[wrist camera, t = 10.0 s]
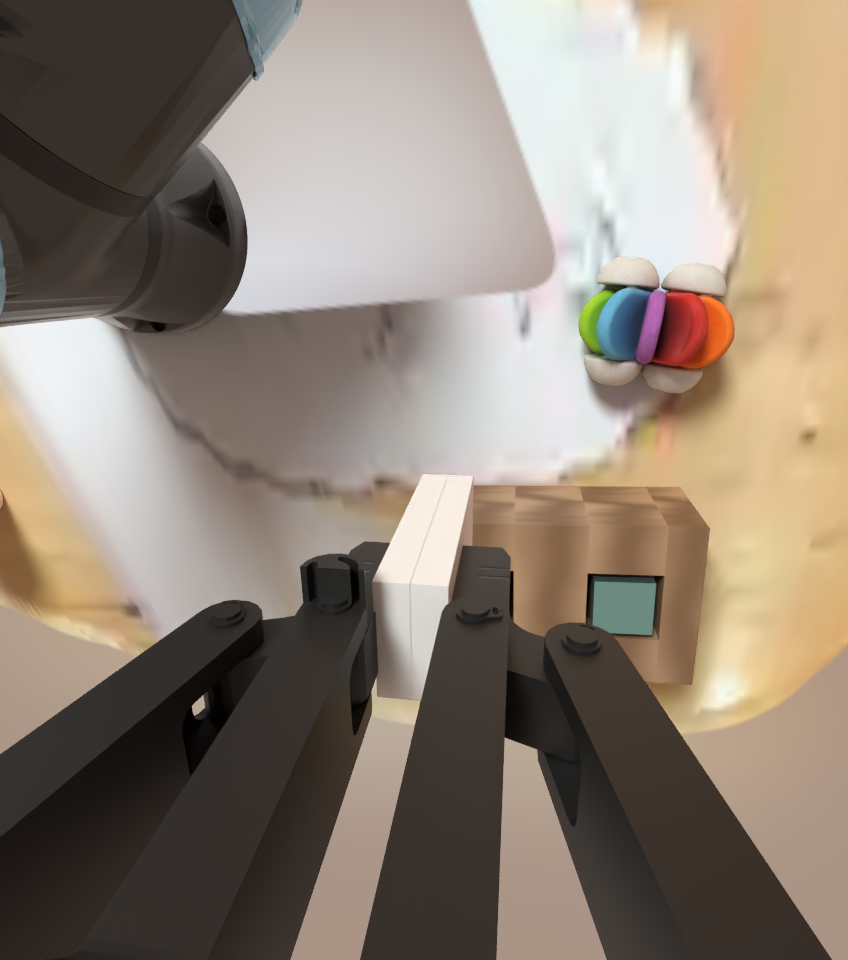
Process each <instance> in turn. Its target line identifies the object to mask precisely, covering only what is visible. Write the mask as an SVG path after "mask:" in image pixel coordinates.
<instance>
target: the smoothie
mask: <svg viewBox="0 0 848 960" xmlns="http://www.w3.org/2000/svg"><path fill="white" fill-rule="evenodd" d="M2 505H3V495H2V492H1V490H0V509H1V507H2Z"/></svg>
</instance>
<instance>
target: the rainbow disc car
mask: <svg viewBox="0 0 848 960" xmlns="http://www.w3.org/2000/svg"><path fill="white" fill-rule="evenodd" d="M597 283H598V284H604V285H611V286H622V287H627V288H625V289H621V290H620V291H618V290H613V289H606V290H603V291H602V292H600V293H599V294H597V295H596V296H594V297H593V298H592V299H591V300H590V301H589V302H588V303H587V304H586V305H585V307H584V308H583V310H582V312H581V314H580V319H579V332H580V335H581V337H582V339H583V341H584V342H585V344H586V345H587V346H588V347H589V348H590V349H591V351H593V352H595V353H598V354H587V355H585V356H584V365H585V369H586V371H587V373H588V374H589V376H590V377H591V378H592V379H593V380H594V381H595V382H597V383H600V384H605V385H611V386H622V385H625V384H627V383H629V382H630V381H632V380H633V379H634V378H635V377H636V376H637V375H638V374H639V372H640V371H641V369H642V372H643V376H644V379H645V380H646V382H647V383H648V385H649V386H650V387H651V388H653V389H655V390H659V391H663V392H668V393H683V392H685V391H687V390H689V389H691V388H692V387H693V386H694V385H696V384H697V382H698V381H699V380H700V378H701V377H702V375H703V371H702V370H701V369H698V368H701V367H704V366H707V365H709V364H711V363H713V362H715V361H716V360H718V359H719V358H720V357H721V356H722V355H723V354H724V353H725V352H726V351H727V350H728V348H729V347H730V345H731V343H732V341H733V339H734V323H733V319H732V316H731V314H730V312H729V311H728V309H727V308H726V307H725V306H724V305H723V304H722V303H721V302H719V301H718V300H716V299H714V298H711V297H724V296H725V294H726V283H725V279H724V277H723V275H722V273H721V272H720V271H719V269H718V268H716V267H714V266H711V265H706V264H697V263H684V264H681V265H679V266H677V267H676V268H674V269H673V270H672V271H671V272H670V273H669V274H668V275H667V277H666V278H665V279H664V281H663V283H662V284H661V287H662V289H665V290H669V291H670V292H669V293H666V294H665V293H664V292H662V291H654V290H655V289H657V288H659V276H658V273H657V270H656V268H655V267H654V265H653V264H652V263H651V262H650V261H649V260H647V259H643V258H636V257H617V258H615V259H613V260H612V261H610V262H609V263H608V264H607V265H606V266H605V267H604V268H603V269H602V271H601V272H600V274H599V276H598V279H597ZM653 291H654V292H653Z"/></svg>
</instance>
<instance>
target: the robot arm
mask: <svg viewBox="0 0 848 960" xmlns="http://www.w3.org/2000/svg"><path fill="white" fill-rule="evenodd" d="M301 5H302V0H0V327H5V326H14V325H23V324H33V323H43V322H53V321H63V320H73V319H83V318H91V317H94V318H96V319H99V320H102V321H104V322H107V323H109V324H112V325H115V326H117V327H120V328H123V329H125V330H128V331H132V332H136V333H141V334H150V335H162V334H170V333H177V332H183V331H187V330H191V329H194V328H197V327H199V326H201V325H203V324H205V323H207V322H208V321H210V320H211V319H213V318H214V317H215V316H217V315H218V314H219V313H220V312H221V311H222V310H223V309H224V308H225V307H226V305H227V304H228V303H229V301H230V300H231V298H232V297H233V295H234V294H235V292H236V290H237V288H238V286H239V283H240V281H241V278H242V275H243V272H244V268H245V263H246V257H247V228H246V220H245V215H244V211H243V207H242V203H241V201H240V198H239V195H238V192H237V190H236V188H235V186H234V184H233V182H232V180H231V178H230V176H229V175H228V173H227V171H226V170H225V168H224V167H223V165H222V164H221V163H220V161H219V160H218V159H217V158H216V157H215V155H214V154H212V152H211V151H210V150H209V149H208V148H207V147H206V146H204V144H202V143H201V141H202V140H203V139H204V137H205V136H206V135H207V134H208V132H209V131H210V130H211V129H212V127H213V126H214V125H215V124H216V123H217V121H218V120H219V119H220V118H221V116H222V115H223V114H224V113H225V112H226V110H227V109H228V108H229V106H230V105H231V104H232V103H233V102H234V100H235V99H236V98H237V96H238V95H239V94H240V93H241V92H242V91H243V89H244V88H245V87H246V86H247V84H248V83H249V82H250V81H251V80H252V78H253V79H254V80H255V81H257V80H258V79H259V78H260V77H261V75H262V73H263V72H264V63H265V62H266V61H267V59H268V58H269V56H270V55H271V54H272V52H273V51H274V50H275V48H276V47H277V46H278V44H279V43H280V42H281V40H282V39H283V37H284V36H285V35H286V33H287V32H288V31H289V29H290V28H291V27H292V25H293V24H294V22H295V21H296V19H297V17H298V14H299V12H300V9H301ZM472 532H473V476H463V475H436V474H423V475H422V477H421V479H420V482H419V484H418V486H417V488H416V490H415V492H414V494H413V496H412V498H411V500H410V503H409V505H408V507H407V509H406V511H405V513H404V515H403V517H402V519H401V522H400V524H399V526H398V528H397V530H396V532H395V534H394V536H393V538H392V540H391V543H381V542H363V543H362V544H360V545H359V546H357V547H355V548H354V549H352V550H351V552H350V553H349V555H346V554H327V555H322V556H317V557H315V558H312V559H310V560H308V561H306V562H305V563H304V564H303V565H301V566H300V570H301V581H302V592H303V604H302V606H301V607H300V609H299V610H298V612H297V613H296V615H295V616H291V617H285V618H277V619H269V620H263V617H262V610H261V609H260V608H259V606H258V605H256V604H254V603H252V602H249V601H240V600H231V601H230V600H229V601H223V602H221V603H218V604H215V605H212V606H210V607H208V608H206V609H204V610H202V611H201V612H199V613H198V614H196V615H195V616H194V617H192V618H191V619H189V620H188V621H187V622H185V623H184V624H182V625H181V626H180V627H178V628H177V629H175V630H174V631H173V632H171V633H170V634H168V635H167V636H166V637H164V638H163V639H161V640H160V641H159V642H157V643H156V644H154V645H153V646H152V647H150V648H149V649H147V650H146V651H145V652H143V653H142V654H140V655H139V656H138V657H136V658H135V659H133V660H132V661H131V662H129V663H128V664H126V665H125V666H123V667H122V668H121V669H119V670H118V671H116V672H115V673H114V674H112V675H111V676H109V677H108V678H107V679H105V680H104V681H102V682H101V683H100V684H98V685H97V686H96V687H94V688H93V689H91V690H90V691H88V692H87V693H86V694H84V695H83V696H82V697H80V698H79V699H77V700H76V701H74V702H73V703H72V704H70V705H69V706H68V707H66V708H65V709H63V710H62V711H60V712H59V713H58V714H56V715H55V716H53V717H52V718H51V719H49V720H48V721H46V722H45V723H44V724H42V725H41V726H40V727H38V728H37V729H35V730H34V731H32V732H31V733H30V734H28V735H27V736H25V737H24V738H23V739H21V740H20V741H18V742H17V743H16V744H14V745H13V746H11V747H10V748H9V749H7V750H6V751H4V752H3V753H2V754H0V960H290V959H291V956H292V952H293V950H294V946H295V944H296V940H297V938H298V934H299V931H300V928H301V925H302V922H303V919H304V916H305V913H306V910H307V907H308V904H309V901H310V898H311V895H312V892H313V889H314V886H315V883H316V880H317V877H318V874H319V871H320V868H321V865H322V862H323V859H324V856H325V853H326V850H327V847H328V844H329V840H330V838H331V835H332V832H333V828H334V826H335V823H336V820H337V817H338V814H339V811H340V807H341V805H342V802H343V798H344V795H345V792H346V789H347V786H348V783H349V780H350V777H351V774H352V771H353V768H354V765H355V762H356V759H357V756H358V753H359V750H360V747H361V744H362V741H363V738H364V734H365V732H366V729H367V726H368V723H369V720H370V717H371V714H372V695H371V690H372V688H373V685H374V682H375V679H376V677H377V697H388V698H399V699H409V700H420V701H421V702H420V707H419V711H418V715H417V719H416V724H415V728H414V732H413V737H412V741H411V745H410V749H409V754H408V758H407V762H406V766H405V771H404V775H403V779H402V784H401V788H400V792H399V796H398V800H397V805H396V809H395V813H394V817H393V822H392V826H391V830H390V835H389V839H388V843H387V847H386V852H385V856H384V860H383V865H382V869H381V873H380V877H379V881H378V886H377V890H376V894H375V898H374V903H373V907H372V911H371V916H370V920H369V924H368V928H367V933H366V937H365V941H364V945H363V950H362V954H361V959H360V960H496V951H497V922H498V897H499V896H498V895H499V871H500V870H499V867H500V843H501V817H502V791H503V764H504V737H505V738H508V739H511V740H513V741H516V742H519V743H521V744H524V745H527V746H530V747H532V748H535V749H537V752H538V761H539V764H540V767H541V770H542V773H543V776H544V779H545V782H546V784H547V787H548V790H549V793H550V796H551V799H552V802H553V805H554V808H555V811H556V813H557V816H558V819H559V821H560V825H561V828H562V831H563V834H564V837H565V840H566V842H567V845H568V848H569V851H570V854H571V857H572V860H573V863H574V866H575V869H576V871H577V874H578V877H579V880H580V883H581V886H582V889H583V892H584V895H585V897H586V900H587V903H588V906H589V909H590V912H591V915H592V918H593V920H594V923H595V926H596V929H597V932H598V935H599V938H600V941H601V944H602V946H603V949H604V953H605V955H606V958H607V960H832V959H831V958H830V956H829V955H828V953H827V952H826V950H825V949H824V947H823V946H822V944H821V943H820V941H819V940H818V938H817V937H816V935H815V934H814V932H813V931H812V930H811V928H810V926H809V925H808V924H807V922H806V921H805V919H804V918H803V916H802V915H801V913H800V912H799V910H798V909H797V907H796V906H795V904H794V903H793V901H792V900H791V898H790V897H789V895H788V894H787V892H786V891H785V889H784V888H783V886H782V885H781V883H780V882H779V880H778V879H777V877H776V876H775V874H774V873H773V872H772V870H771V868H770V867H769V865H768V864H767V863H766V861H765V859H764V858H763V856H762V855H761V853H760V852H759V851H758V849H757V848H756V846H755V845H754V843H753V842H752V840H751V839H750V837H749V836H748V834H747V833H746V831H745V830H744V828H743V827H742V825H741V824H740V822H739V821H738V819H737V818H736V816H735V815H734V814H733V812H732V811H731V809H730V807H729V806H728V804H727V803H726V801H725V800H724V798H723V797H722V795H721V794H720V793H719V791H718V790H717V788H716V787H715V785H714V784H713V782H712V781H711V779H710V778H709V776H708V775H707V773H706V772H705V770H704V769H703V767H702V766H701V764H700V763H699V761H698V760H697V758H696V757H695V755H694V754H693V752H692V751H691V750H690V748H689V746H688V745H687V744H686V742H685V740H684V739H683V737H682V736H681V734H680V733H679V732H678V730H677V729H676V727H675V726H674V724H673V723H672V721H671V720H670V718H669V717H668V715H667V714H666V712H665V711H664V709H663V708H662V706H661V705H660V703H659V702H658V700H657V699H656V697H655V696H654V694H653V693H652V691H651V690H650V688H649V687H648V685H647V684H646V682H645V681H644V679H643V678H642V676H641V675H640V674H639V672H638V671H637V669H636V668H635V666H634V665H633V663H632V662H631V660H630V659H629V657H628V656H627V654H626V653H625V651H624V650H623V648H622V647H621V645H620V644H619V642H618V641H617V640H616V639H615V638H614V637H613V636H612V635H611V634H610V633H609V632H607V631H605V630H603V629H601V628H599V627H597V626H594V625H591V624H587V623H574V622H569V623H564V624H558V625H556V626H554V627H553V628H551V629H549V630H548V632H547V633H546V635H545V637H543V636H539V635H536V634H533V633H530V632H528V631H526V630H524V629H522V628H520V627H519V626H518V625H517V624H516V623H514V622H513V620H512V619H511V617H510V613H509V597H510V566H511V557H510V556H509V555H508V553H507V552H506V551H505V550H504V549H503V548H501V547H482V546H472ZM202 695H204V701H205V708H204V709H203V710H202V711H201V712H200V713H199V714H197V715H195V716H194V715H193V712H192V705H193V704H194V703H195V702H196V701H197V700H198V699H199V698H200V697H201V696H202ZM78 948H79V949H78ZM77 949H78V950H77ZM76 950H77V951H76Z"/></svg>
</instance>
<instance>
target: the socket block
mask: <svg viewBox="0 0 848 960" xmlns="http://www.w3.org/2000/svg"><path fill="white" fill-rule="evenodd" d="M709 532H710V528H709V527H708V525H707V524H706V522H705V521H704V520H703V518H702V517H701V516H700V514H699V513H698V512H697V510H696V509H695V507H694V506H693V505H692V503H691V502H690V501H689V499H688V498H687V497H686V495H685V494H684V492H683V491H682V490H681V488H680V487H574V486H473V532H472V546H482V547H501V548H503V549H504V550H505V551H506V552H507V553H508V555H509V556H510V557H511V566H510V571H514V580H510V597H509V613H510V617H511V619H512V620H513V622H514V623H516V624H517V625H518V626H519V627H520V628H522V629H524V630H526V631H528V632H530V633H533V634H536V635H539V636H543V637H545V635H546V633H547V632H548V630H549V629H551V628H553V627H554V626H556V625H558V624H564V623H569V622H574V623H587V624H590V618H589V613H588V608H587V602H586V598H587V576H588V573H591V574H622V575H653V577H654V579H655V582H656V593H655V604H654V616H653V628H652V635H638V634H617V633H610V634H611V635H612V636H613V637H614V638H615V639H616V640H617V641H618V642H619V644H620V645H621V647H622V648H623V650H624V651H625V653H626V654H627V656H628V657H629V659H630V660H631V662H632V663H633V665H634V666H635V668H636V669H637V671H638V672H639V674H640V675H641V676H642V678H643V679H644V681H645V682H654V683H671V684H687V685H692V680H693V672H694V663H695V654H696V645H697V637H698V628H699V619H700V610H701V602H702V593H703V584H704V576H705V567H706V558H707V549H708V541H709Z"/></svg>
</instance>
